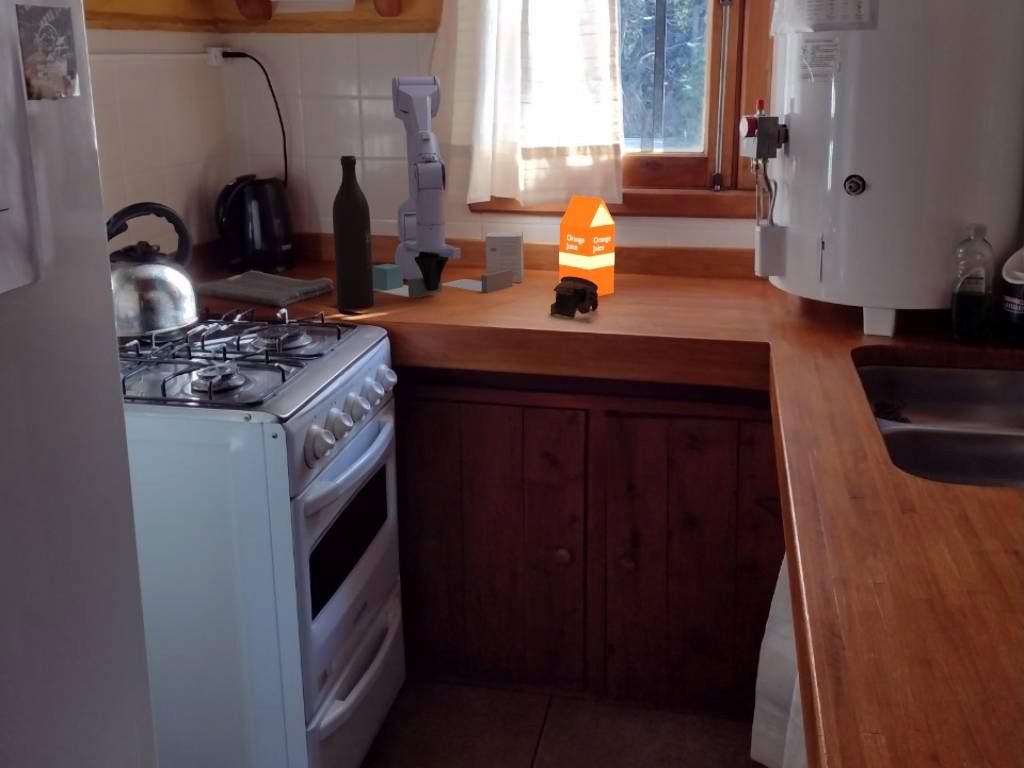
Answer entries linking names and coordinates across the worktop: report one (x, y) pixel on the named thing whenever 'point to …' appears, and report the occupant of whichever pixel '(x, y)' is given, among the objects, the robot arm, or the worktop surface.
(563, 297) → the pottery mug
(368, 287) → the wine bottle
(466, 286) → the grey l-shaped block
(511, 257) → the small box
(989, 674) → the worktop surface
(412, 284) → the grey piece
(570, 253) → the orange juice
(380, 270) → the teal block
